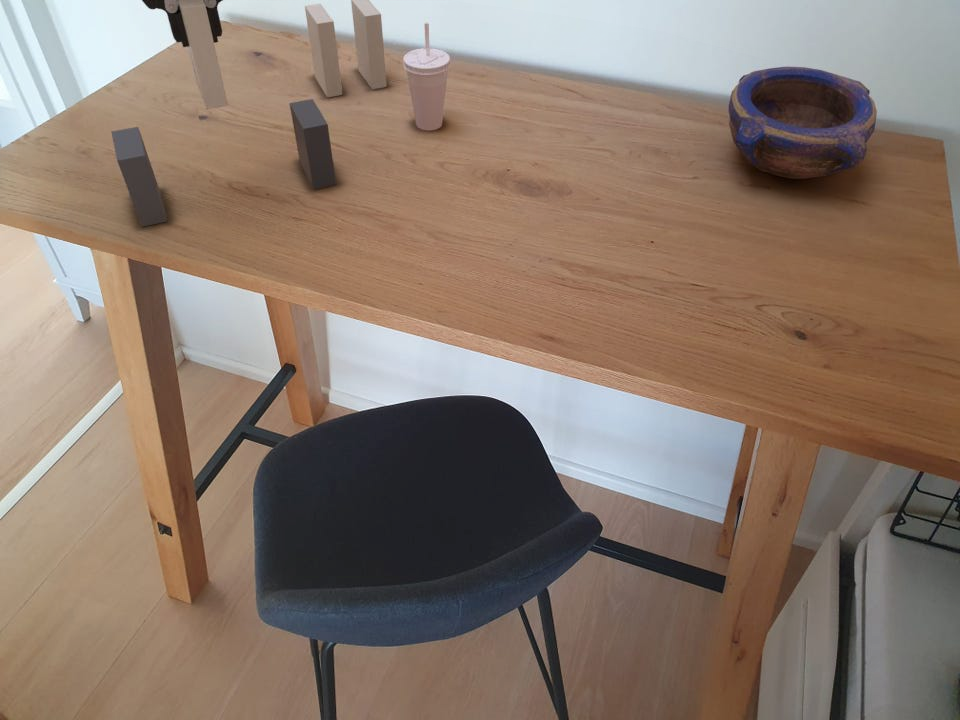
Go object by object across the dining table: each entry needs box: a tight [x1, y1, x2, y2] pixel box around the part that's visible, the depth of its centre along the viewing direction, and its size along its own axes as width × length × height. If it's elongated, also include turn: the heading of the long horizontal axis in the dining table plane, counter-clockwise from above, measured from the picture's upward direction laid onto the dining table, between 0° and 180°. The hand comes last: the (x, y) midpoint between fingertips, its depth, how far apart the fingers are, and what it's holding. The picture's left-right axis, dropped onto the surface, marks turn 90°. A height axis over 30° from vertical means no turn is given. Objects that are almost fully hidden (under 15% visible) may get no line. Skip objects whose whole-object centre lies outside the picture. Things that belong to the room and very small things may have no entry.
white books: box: [304, 0, 388, 98], centre depth 115 cm, size 9×7×11 cm
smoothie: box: [402, 22, 451, 132], centre depth 105 cm, size 6×6×14 cm
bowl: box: [728, 66, 878, 180], centre depth 100 cm, size 18×18×10 cm
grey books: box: [111, 98, 337, 228], centre depth 94 cm, size 24×7×9 cm, turn 113°
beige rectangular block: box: [177, 0, 229, 110], centre depth 84 cm, size 2×7×11 cm, turn 23°
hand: (199, 41), depth 84 cm, fingers closed on beige rectangular block, 2 cm apart
